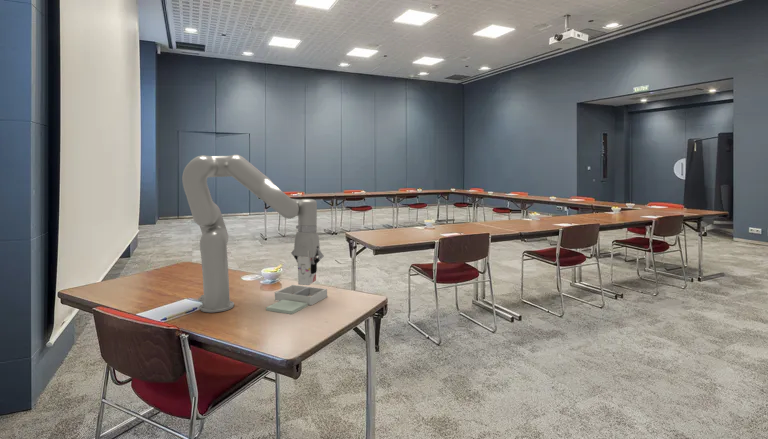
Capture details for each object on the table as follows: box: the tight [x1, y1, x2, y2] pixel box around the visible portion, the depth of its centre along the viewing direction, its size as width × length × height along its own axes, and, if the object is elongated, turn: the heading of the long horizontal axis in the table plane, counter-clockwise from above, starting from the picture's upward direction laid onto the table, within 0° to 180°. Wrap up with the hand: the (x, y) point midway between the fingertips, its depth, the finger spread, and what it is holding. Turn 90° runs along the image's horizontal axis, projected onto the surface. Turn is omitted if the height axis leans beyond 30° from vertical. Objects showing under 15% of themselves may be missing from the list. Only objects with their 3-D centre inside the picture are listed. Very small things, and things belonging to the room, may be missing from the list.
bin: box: [274, 284, 328, 306], centre depth 183 cm, size 18×13×4 cm
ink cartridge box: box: [297, 250, 317, 286], centre depth 179 cm, size 9×5×15 cm, turn 168°
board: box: [265, 300, 308, 315], centre depth 171 cm, size 12×10×1 cm
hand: (307, 271), depth 180 cm, fingers closed on ink cartridge box, 5 cm apart
